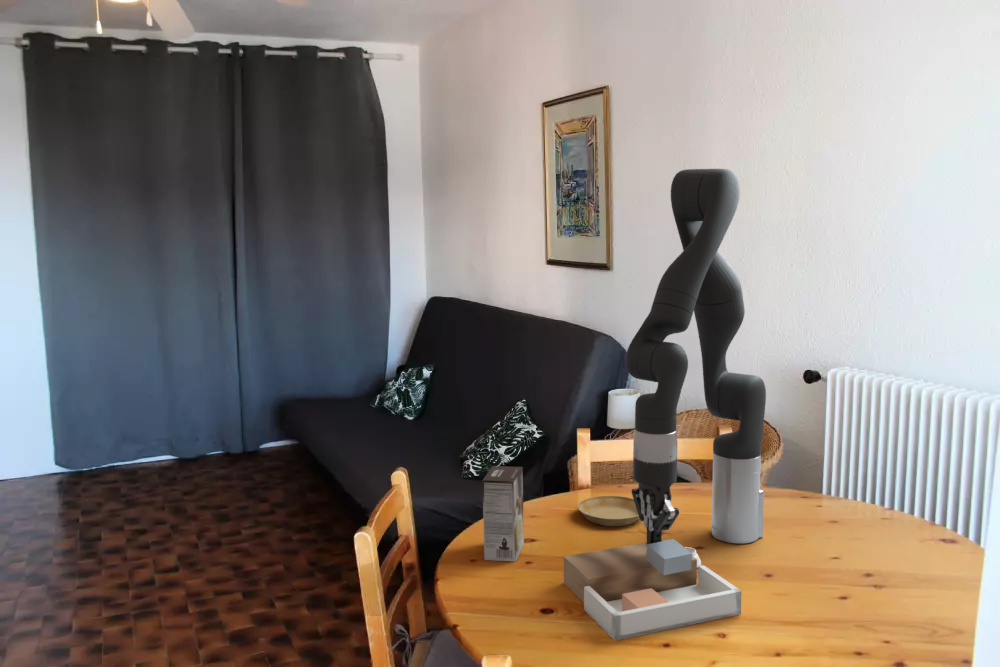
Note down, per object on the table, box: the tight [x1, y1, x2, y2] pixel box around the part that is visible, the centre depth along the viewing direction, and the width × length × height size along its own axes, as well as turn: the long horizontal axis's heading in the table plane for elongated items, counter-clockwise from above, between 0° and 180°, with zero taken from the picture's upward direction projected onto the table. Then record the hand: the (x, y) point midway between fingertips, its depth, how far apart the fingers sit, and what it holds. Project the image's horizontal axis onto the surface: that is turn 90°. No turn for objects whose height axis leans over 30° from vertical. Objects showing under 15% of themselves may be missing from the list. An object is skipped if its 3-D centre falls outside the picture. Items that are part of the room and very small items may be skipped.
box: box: [583, 564, 743, 641], centre depth 138 cm, size 23×11×4 cm, turn 110°
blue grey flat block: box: [646, 538, 692, 575], centre depth 145 cm, size 6×6×3 cm
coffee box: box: [481, 465, 525, 563], centre depth 163 cm, size 9×6×16 cm
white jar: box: [683, 546, 702, 569], centre depth 157 cm, size 5×3×5 cm
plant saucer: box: [577, 495, 640, 527], centre depth 182 cm, size 15×15×3 cm
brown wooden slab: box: [563, 538, 698, 604], centre depth 149 cm, size 21×10×5 cm, turn 110°
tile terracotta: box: [622, 588, 668, 611], centre depth 136 cm, size 6×6×3 cm
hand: (653, 548), depth 149 cm, fingers closed
